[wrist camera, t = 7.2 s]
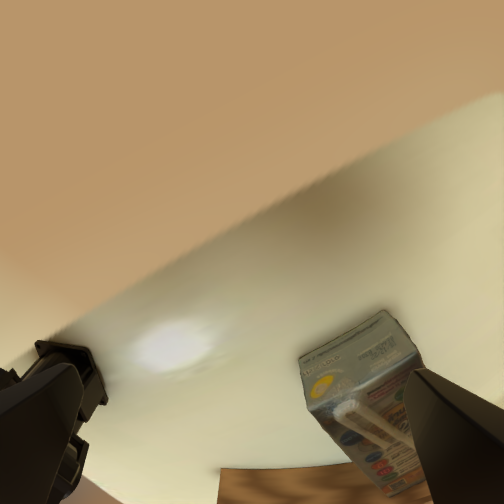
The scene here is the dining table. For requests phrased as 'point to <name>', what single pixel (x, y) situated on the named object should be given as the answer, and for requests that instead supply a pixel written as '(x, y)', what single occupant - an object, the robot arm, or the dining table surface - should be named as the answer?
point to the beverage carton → (367, 399)
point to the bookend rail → (310, 487)
